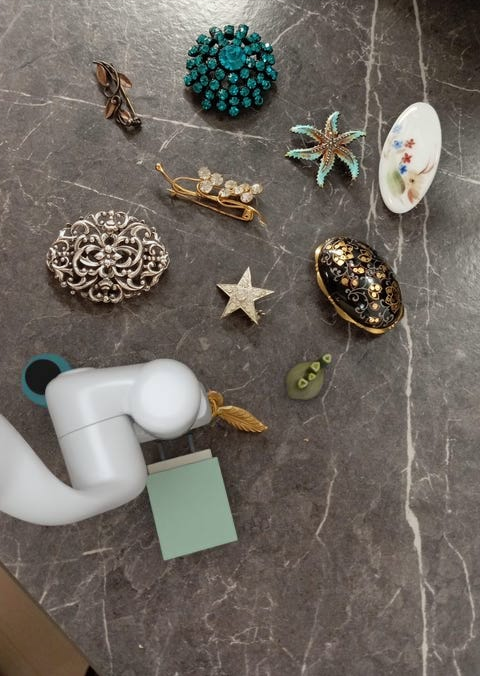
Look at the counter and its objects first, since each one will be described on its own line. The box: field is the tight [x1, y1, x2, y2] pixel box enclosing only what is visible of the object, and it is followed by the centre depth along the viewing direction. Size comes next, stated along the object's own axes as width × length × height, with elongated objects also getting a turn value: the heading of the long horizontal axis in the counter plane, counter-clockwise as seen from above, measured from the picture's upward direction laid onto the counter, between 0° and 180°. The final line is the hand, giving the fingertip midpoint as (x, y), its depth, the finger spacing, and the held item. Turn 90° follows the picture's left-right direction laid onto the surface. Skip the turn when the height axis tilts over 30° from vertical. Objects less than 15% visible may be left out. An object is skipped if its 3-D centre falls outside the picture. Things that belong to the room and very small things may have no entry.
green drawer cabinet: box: [145, 456, 239, 562], centre depth 116 cm, size 10×9×8 cm
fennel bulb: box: [284, 353, 333, 401], centre depth 119 cm, size 6×5×12 cm
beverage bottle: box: [20, 353, 78, 411], centre depth 113 cm, size 6×7×20 cm
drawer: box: [146, 429, 213, 475], centre depth 117 cm, size 13×8×7 cm, turn 15°
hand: (168, 416), depth 118 cm, fingers closed
